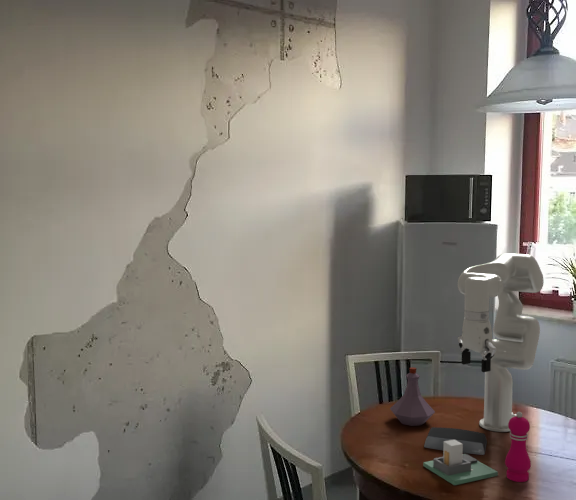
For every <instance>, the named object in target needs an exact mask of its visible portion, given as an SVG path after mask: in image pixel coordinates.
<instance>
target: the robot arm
mask: <svg viewBox="0 0 576 500" xmlns="http://www.w3.org/2000/svg"><path fill="white" fill-rule="evenodd" d="M543 287H544V275H543V272H542V270H541V267H540V265H539V263H538V261H537V260H536V258H535V257H534V256H533V255H531V254H524V253H502V254H500V255H498V256H496V258H495V259H493V260H492V261H491V262H487V263H483V264H477V265H473V266H470V267H468V268H466V269H465V270H464V271H462V273H461V274H460V276H459V277H458V280H457V289H458V291H459V293H460V294H462V295H464V312H463V313H464V317H463V322H462V329H461V330H462V331H461V335H459V336H458V337H457V341H458V346H459V348H460V350H459V351H460V352H461V365H469V364H471V360H472V358H471V357H472V356H471V351H473V352H475V353H479V354H480V356H481V357H482V359H481V366H480V367H481V372H482V373H484V400H483V401H484V403H483V406H484V407H483V408H484V409H483V418H481V419H480V420H479V422H478V423H479V426H480V427H481V428H483V429H484V430H487V431H490V432H491V431H492V432H496V433H497V432H499V433H507V432H509V433H510V432H511V431H510V429H509V427H508V423H509V420H510V419H511V418H512V417H515V416H516V413H515V414H514V412H513V382H514V381H513V377H512V374H511V372H510V370H508V369H515V370H525V371H527V370H529V369H531V368H532V367H533V365H534V362H535V359H536V353H537V348H538V345H539V344H538V343H539V339H540V335H541V334H540V333H541V332H540V331H541V327H540V326H541V325H540V322H539V320H538V319H537V318H535V317H533V316H528V315H523V314H522V313H523V310H524V309H523V307H524V306H523V303H522V302H521V300H520V298H519V297H518V296H517V294H515V293H514V292H521V293H531V294H532V293H534V294H536V293H539V292H540V291H542V289H543ZM495 297H497V299H498V307H497V310H496V315H495V319H494V323H493V332H492V325H491V321H490V315H489V314H490V298H495ZM493 335H494V337H495V338H493Z"/></svg>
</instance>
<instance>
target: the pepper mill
mask: <svg viewBox="0 0 576 500" xmlns="http://www.w3.org/2000/svg"><path fill="white" fill-rule="evenodd" d="M515 414H516V416H515V417H512V418H511V419H510V420H509V423H508V427H509V429H510V431H509V438H510V439H511V440H510V442H511V443H510V447H509V450H508V452H507V453H506V456H505V458H504V459H505V460H504V465H505V467H506V468H507V469H506V478H507V479H508V480H510V481H512V482H517V483H523V482H524V483H525V482H527V481H529V479H530V477H529V476H530V473H529V471H530V469H531V468H532V467H531V466H532V464H531V463H532V461H531V458H530V456H529V453H528V451H527V440H528V438H529V437H528V435H529V434H528V432H529V431H530V428H531V427H530V425H531V424H530V422H529V420H528V419H527V418H526V417H523V413H522V412H521V411H517V412H516V413H515Z"/></svg>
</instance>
